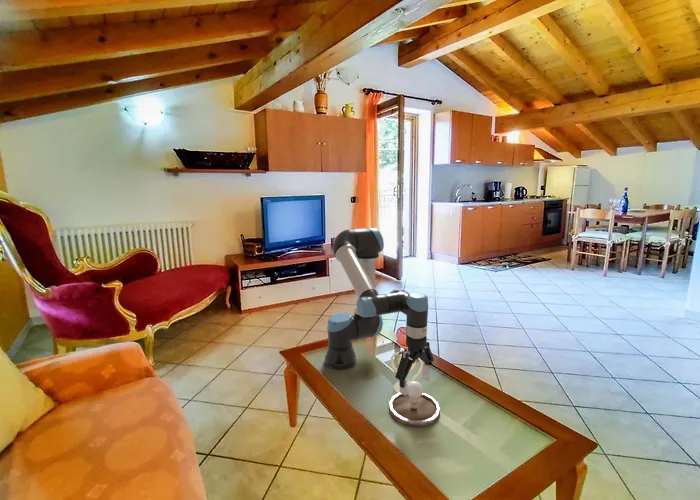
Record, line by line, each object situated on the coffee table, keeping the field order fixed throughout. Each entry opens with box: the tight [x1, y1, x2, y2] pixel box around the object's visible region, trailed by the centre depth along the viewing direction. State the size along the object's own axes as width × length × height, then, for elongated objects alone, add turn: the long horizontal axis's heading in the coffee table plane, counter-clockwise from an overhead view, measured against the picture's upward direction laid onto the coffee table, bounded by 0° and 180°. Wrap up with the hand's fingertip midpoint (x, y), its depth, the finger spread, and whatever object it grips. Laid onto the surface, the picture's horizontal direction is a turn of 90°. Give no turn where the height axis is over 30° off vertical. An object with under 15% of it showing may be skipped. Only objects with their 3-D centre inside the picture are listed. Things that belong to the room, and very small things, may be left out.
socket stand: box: [388, 392, 441, 428], centre depth 136 cm, size 19×19×2 cm
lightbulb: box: [407, 380, 424, 409], centre depth 135 cm, size 6×6×11 cm
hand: (414, 386), depth 134 cm, fingers open, 13 cm apart
